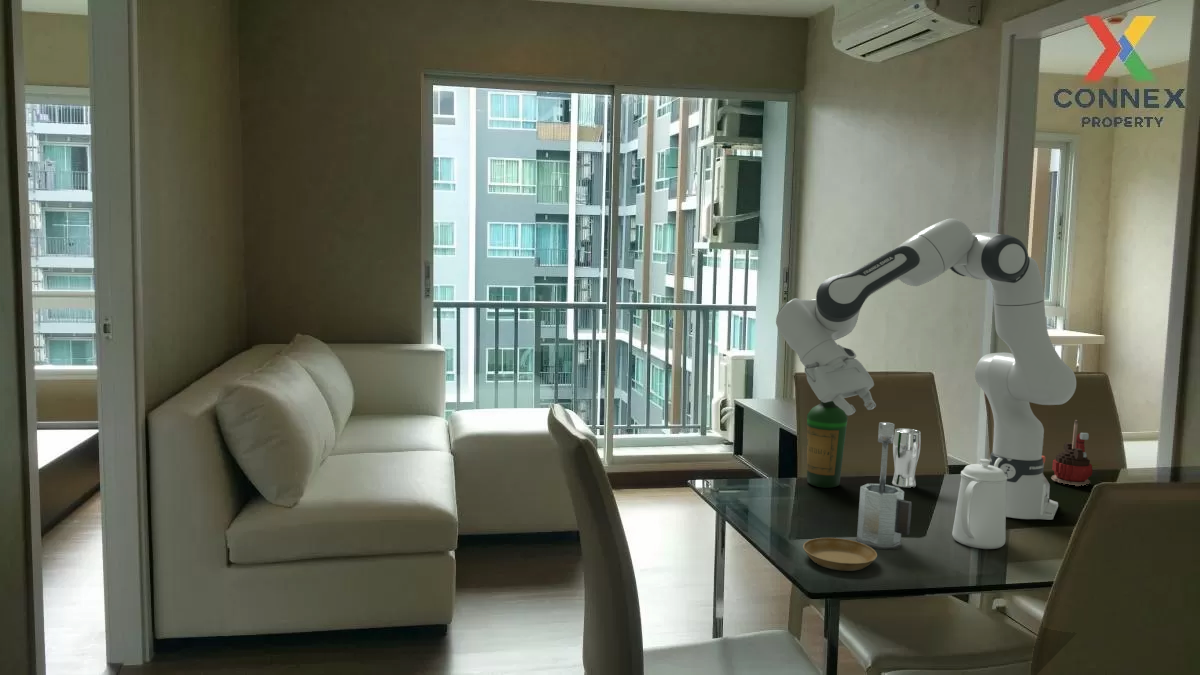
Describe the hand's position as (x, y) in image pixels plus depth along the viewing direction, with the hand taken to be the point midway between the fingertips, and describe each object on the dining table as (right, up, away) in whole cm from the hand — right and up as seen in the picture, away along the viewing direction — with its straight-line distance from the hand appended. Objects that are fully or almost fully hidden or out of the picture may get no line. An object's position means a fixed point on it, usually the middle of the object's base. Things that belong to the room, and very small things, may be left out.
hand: (862, 410), depth 196 cm
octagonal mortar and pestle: (+3, -29, -1) cm, 29 cm away
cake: (+74, -25, +54) cm, 95 cm away
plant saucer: (-9, -30, -13) cm, 34 cm away
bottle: (+2, -24, +45) cm, 51 cm away
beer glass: (+25, -24, +47) cm, 59 cm away
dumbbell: (+3, -19, -2) cm, 20 cm away
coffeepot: (+26, -29, +2) cm, 40 cm away
